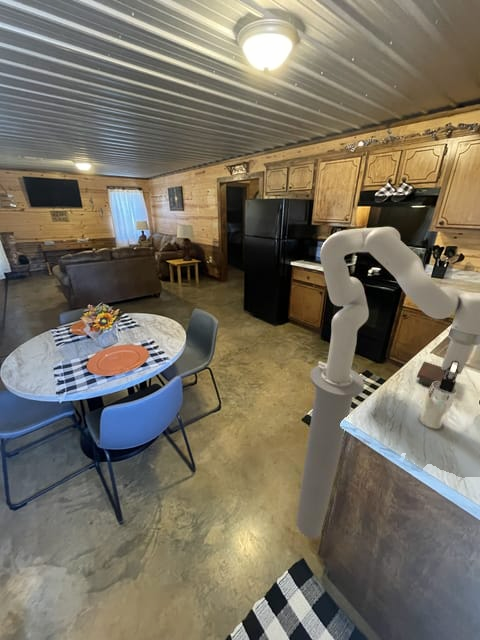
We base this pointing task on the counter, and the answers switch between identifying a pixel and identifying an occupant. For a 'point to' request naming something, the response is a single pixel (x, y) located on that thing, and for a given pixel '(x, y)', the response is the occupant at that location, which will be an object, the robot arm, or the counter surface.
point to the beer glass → (436, 405)
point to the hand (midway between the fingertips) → (447, 382)
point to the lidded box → (430, 374)
